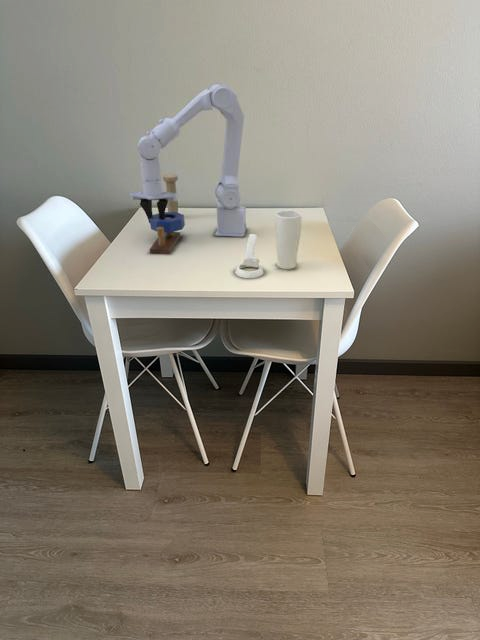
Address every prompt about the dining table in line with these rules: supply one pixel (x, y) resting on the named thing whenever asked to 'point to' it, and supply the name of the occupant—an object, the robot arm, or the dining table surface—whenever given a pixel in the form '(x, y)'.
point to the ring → (168, 222)
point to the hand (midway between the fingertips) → (156, 222)
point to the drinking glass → (287, 238)
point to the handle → (171, 190)
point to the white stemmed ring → (250, 260)
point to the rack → (165, 241)
